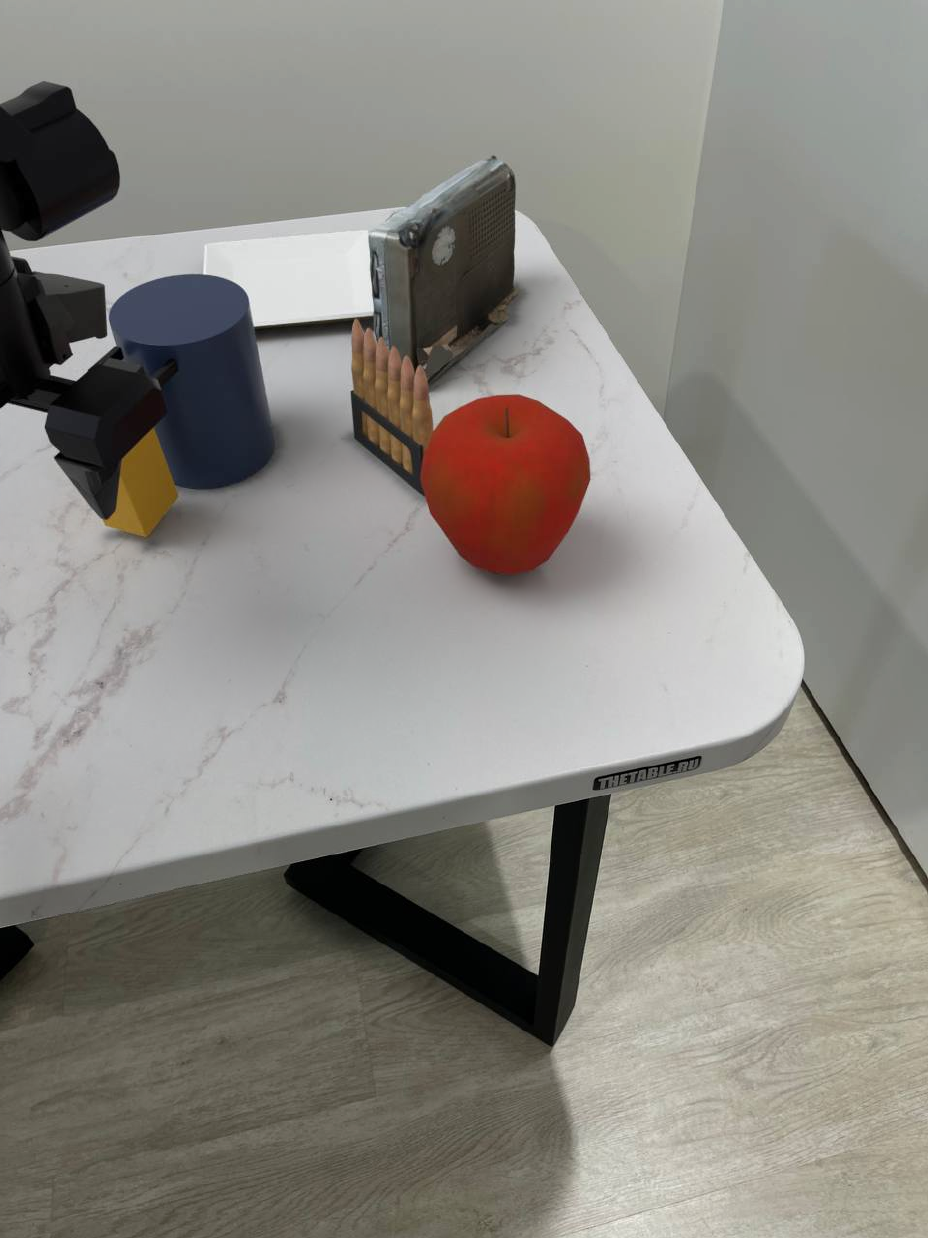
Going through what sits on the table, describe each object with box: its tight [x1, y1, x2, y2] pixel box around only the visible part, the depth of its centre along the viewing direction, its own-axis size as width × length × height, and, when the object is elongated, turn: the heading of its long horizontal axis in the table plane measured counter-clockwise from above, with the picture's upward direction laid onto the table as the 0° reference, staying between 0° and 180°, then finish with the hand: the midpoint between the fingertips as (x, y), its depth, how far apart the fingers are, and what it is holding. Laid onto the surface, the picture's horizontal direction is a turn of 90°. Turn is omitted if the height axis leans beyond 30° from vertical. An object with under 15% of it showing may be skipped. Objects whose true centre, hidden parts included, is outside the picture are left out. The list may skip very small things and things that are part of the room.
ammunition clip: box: [349, 319, 434, 496], centre depth 85 cm, size 11×2×12 cm, turn 38°
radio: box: [368, 155, 519, 386], centre depth 99 cm, size 23×9×15 cm, turn 145°
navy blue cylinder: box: [86, 273, 276, 490], centre depth 85 cm, size 14×11×14 cm
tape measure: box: [102, 358, 180, 538], centre depth 79 cm, size 7×4×12 cm, turn 159°
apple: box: [420, 394, 592, 575], centre depth 76 cm, size 12×12×14 cm
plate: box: [202, 229, 374, 330], centre depth 109 cm, size 19×19×2 cm
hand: (49, 499), depth 66 cm, fingers open, 9 cm apart
